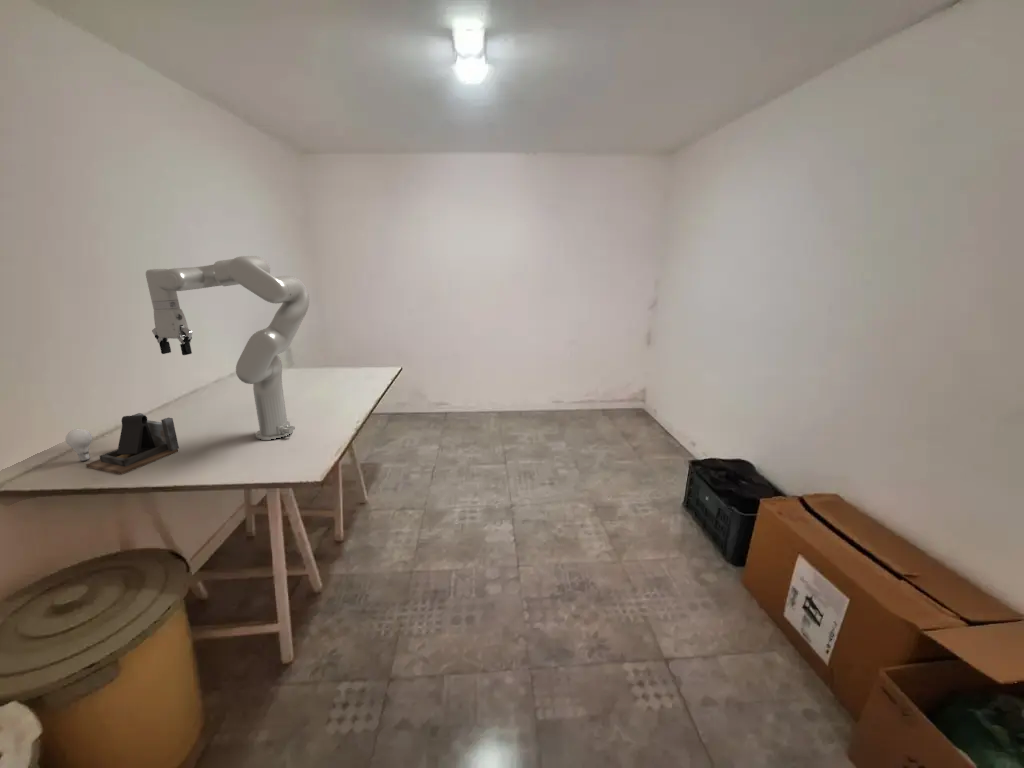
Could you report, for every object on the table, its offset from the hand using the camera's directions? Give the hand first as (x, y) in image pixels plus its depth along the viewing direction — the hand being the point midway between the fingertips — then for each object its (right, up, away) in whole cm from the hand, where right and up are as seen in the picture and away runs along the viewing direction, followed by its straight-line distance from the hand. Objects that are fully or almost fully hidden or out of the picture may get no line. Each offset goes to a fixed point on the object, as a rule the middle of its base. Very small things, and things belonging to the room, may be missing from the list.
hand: (176, 353), depth 166 cm
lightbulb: (-20, -36, -14) cm, 44 cm away
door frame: (-5, -36, -13) cm, 38 cm away
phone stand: (-4, -33, -12) cm, 36 cm away
